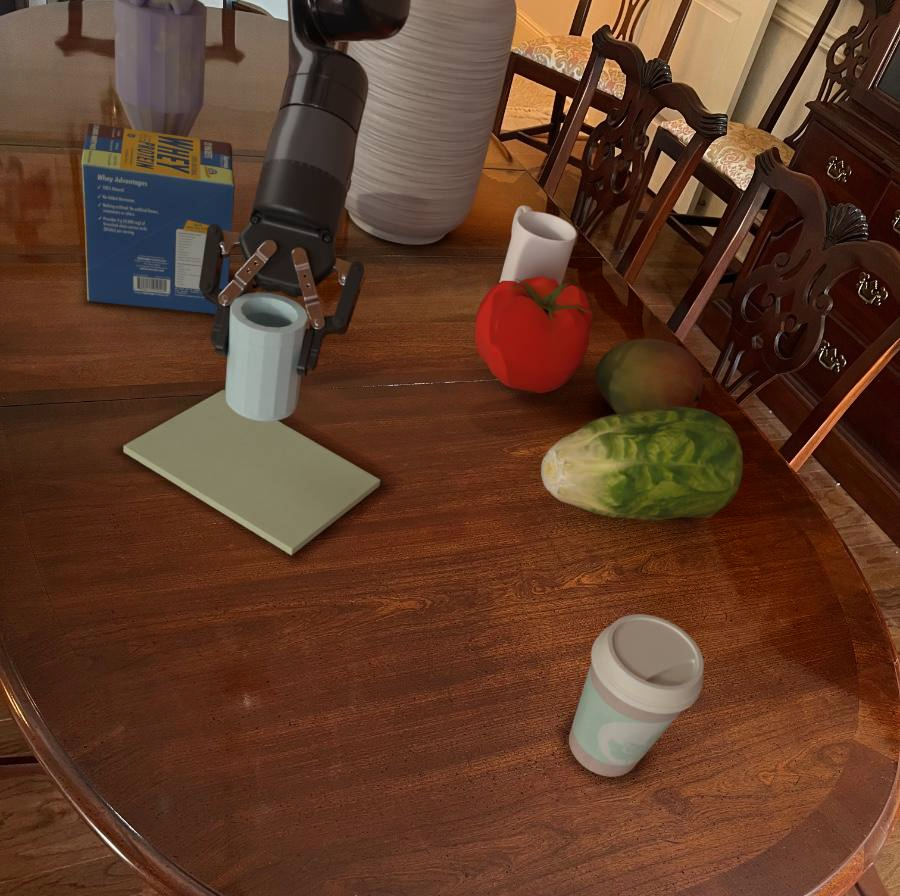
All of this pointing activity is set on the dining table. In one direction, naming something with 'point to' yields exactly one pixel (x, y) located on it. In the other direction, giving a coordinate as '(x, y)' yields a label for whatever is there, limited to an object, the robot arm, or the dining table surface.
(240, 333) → the cylindrical container
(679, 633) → the coffee cup
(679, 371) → the fruit
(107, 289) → the protein box
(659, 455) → the lettuce
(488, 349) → the tomato
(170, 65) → the decorative object
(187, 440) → the mat
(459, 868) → the dining table surface
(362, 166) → the vase
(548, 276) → the mug
